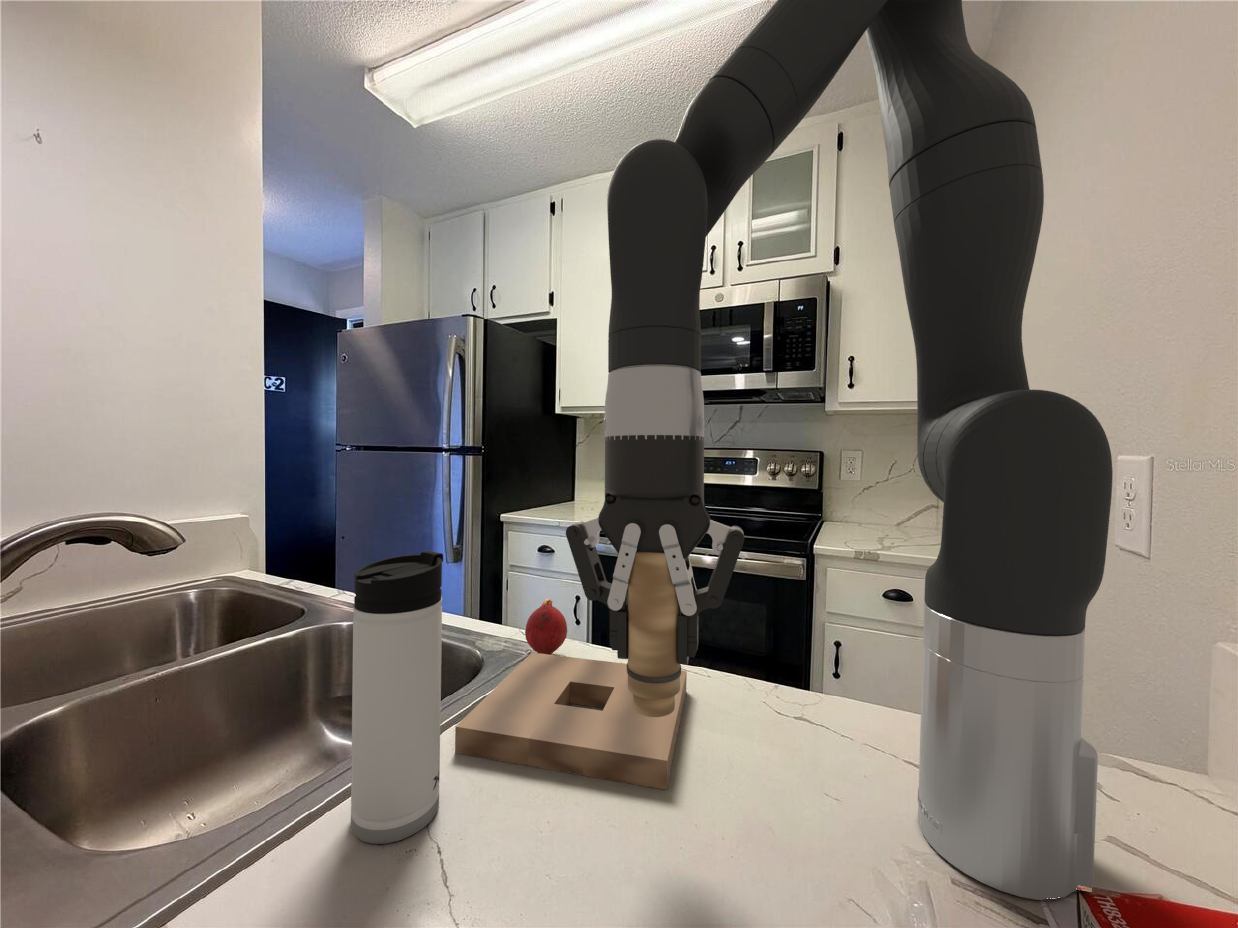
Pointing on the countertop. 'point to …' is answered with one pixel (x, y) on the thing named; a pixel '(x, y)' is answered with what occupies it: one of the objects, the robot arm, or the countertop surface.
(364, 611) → the travel mug
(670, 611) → the oak peg
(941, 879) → the countertop surface
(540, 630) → the red egg-shaped piece
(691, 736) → the countertop surface
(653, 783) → the walnut board
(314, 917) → the countertop surface
